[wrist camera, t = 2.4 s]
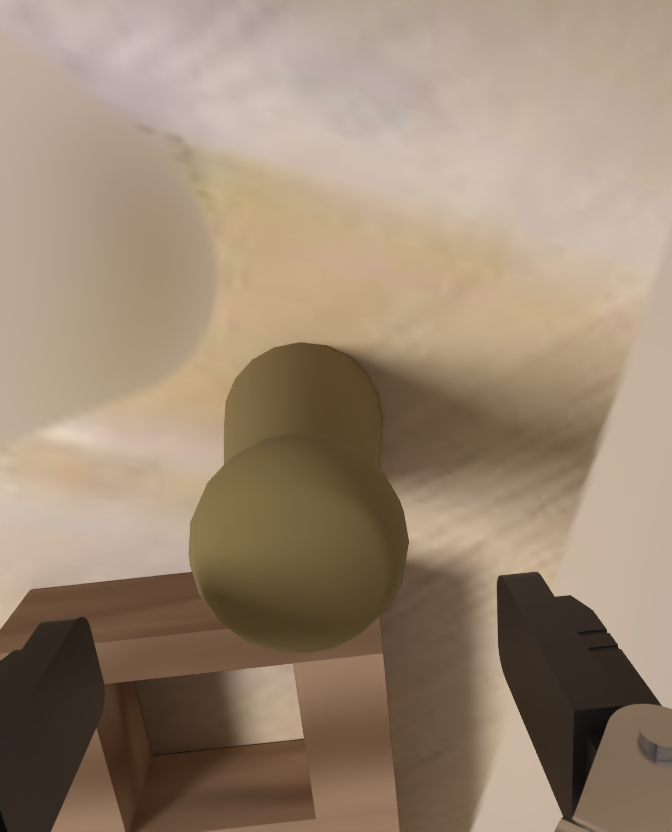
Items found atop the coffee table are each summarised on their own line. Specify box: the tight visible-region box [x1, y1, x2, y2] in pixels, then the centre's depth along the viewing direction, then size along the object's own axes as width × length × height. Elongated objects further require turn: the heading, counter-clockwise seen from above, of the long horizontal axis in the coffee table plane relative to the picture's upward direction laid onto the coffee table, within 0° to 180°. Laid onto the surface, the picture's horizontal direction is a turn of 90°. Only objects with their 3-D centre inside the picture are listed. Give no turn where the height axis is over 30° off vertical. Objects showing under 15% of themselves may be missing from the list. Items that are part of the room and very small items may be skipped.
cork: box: [189, 343, 409, 653], centre depth 19 cm, size 6×6×11 cm
